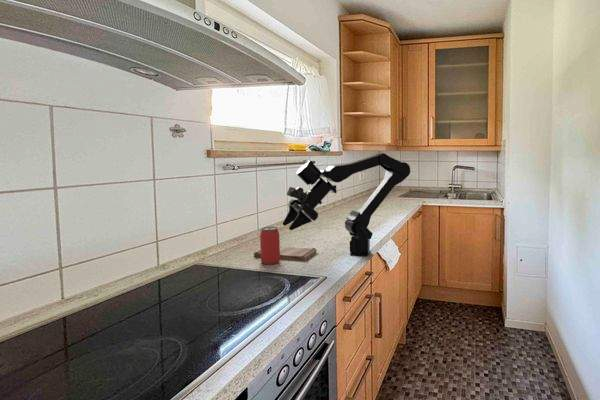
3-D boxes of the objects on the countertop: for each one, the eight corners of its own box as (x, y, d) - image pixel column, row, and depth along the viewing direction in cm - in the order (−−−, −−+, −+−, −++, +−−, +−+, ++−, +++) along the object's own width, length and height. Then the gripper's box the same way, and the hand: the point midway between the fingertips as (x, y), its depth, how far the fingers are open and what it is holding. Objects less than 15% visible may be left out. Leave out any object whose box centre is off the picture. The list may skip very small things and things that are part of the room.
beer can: (282, 260, 148) (281, 226, 146) (276, 265, 141) (275, 230, 140) (264, 259, 150) (263, 226, 148) (258, 264, 143) (257, 229, 142)
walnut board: (316, 252, 157) (316, 248, 157) (305, 260, 146) (305, 255, 146) (268, 249, 164) (267, 244, 164) (253, 256, 153) (253, 252, 153)
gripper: (293, 176, 154) (264, 208, 152) (308, 180, 136) (275, 215, 135) (314, 197, 157) (286, 228, 155) (331, 202, 139) (299, 238, 138)
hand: (286, 227), depth 146 cm, fingers open, 9 cm apart
